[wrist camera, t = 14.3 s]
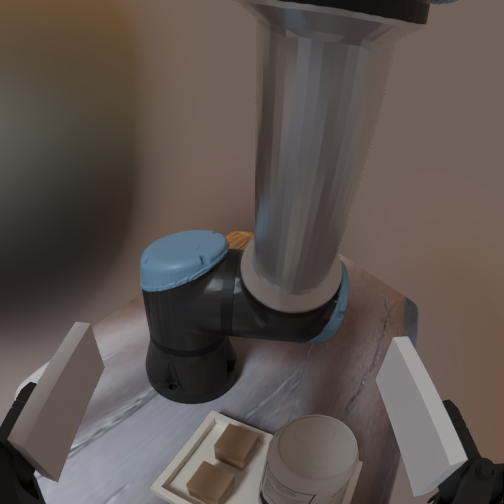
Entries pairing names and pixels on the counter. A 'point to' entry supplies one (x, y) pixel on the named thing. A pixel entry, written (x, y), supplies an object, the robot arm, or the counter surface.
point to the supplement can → (308, 461)
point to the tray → (225, 466)
